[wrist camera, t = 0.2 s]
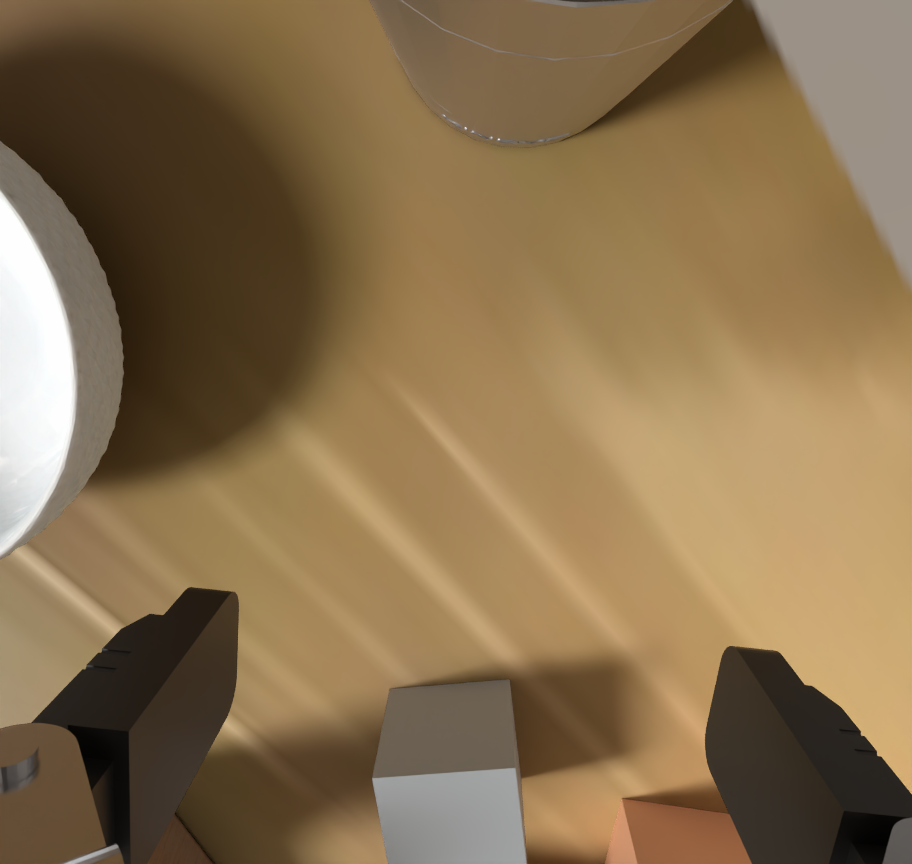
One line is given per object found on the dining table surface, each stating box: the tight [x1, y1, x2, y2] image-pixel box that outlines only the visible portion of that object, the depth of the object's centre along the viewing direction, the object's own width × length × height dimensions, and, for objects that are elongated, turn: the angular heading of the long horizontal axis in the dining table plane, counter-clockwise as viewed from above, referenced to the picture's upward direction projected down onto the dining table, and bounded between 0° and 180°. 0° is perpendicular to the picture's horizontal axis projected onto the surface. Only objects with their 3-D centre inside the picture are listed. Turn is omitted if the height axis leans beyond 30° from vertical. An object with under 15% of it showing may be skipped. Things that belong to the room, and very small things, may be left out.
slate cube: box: [372, 679, 527, 864], centre depth 30 cm, size 6×6×6 cm
